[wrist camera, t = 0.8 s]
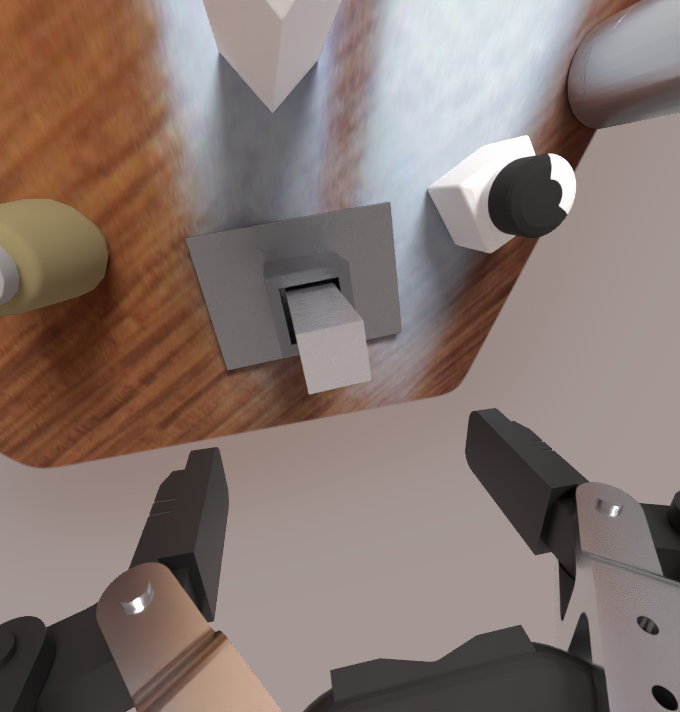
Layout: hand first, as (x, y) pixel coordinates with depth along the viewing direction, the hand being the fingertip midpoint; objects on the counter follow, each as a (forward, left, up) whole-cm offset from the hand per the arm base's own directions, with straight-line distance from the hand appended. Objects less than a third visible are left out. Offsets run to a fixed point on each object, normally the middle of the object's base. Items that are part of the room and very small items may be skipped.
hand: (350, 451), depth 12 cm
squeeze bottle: (+19, -6, -30) cm, 36 cm away
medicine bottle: (-20, -4, -30) cm, 36 cm away
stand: (-1, +2, -30) cm, 30 cm away
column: (-1, +2, -29) cm, 29 cm away
